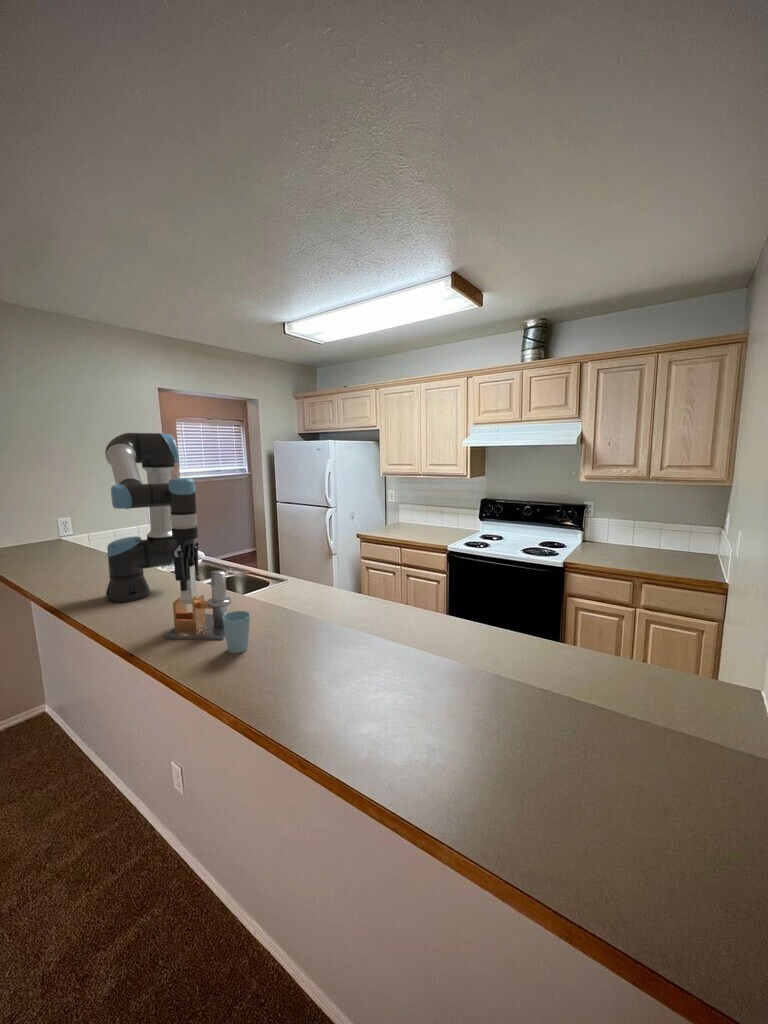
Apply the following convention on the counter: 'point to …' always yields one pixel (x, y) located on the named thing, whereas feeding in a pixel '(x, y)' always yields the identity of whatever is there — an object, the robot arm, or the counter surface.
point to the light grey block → (191, 585)
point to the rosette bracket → (202, 613)
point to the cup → (237, 630)
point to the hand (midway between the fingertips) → (188, 597)
